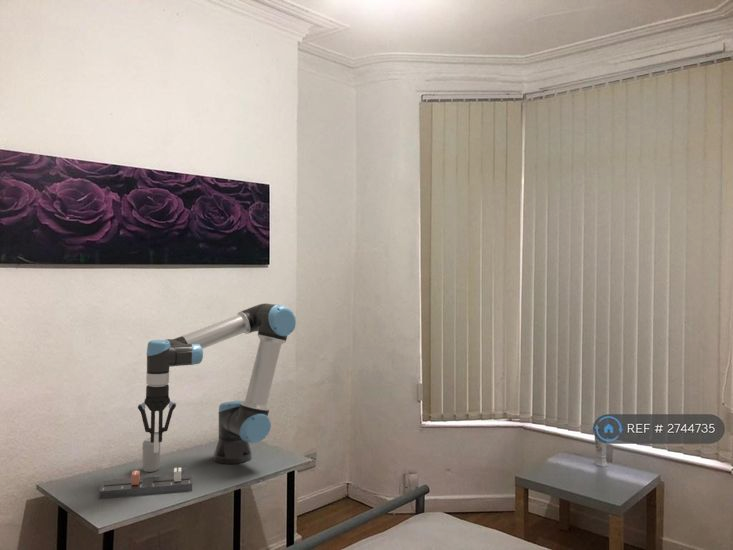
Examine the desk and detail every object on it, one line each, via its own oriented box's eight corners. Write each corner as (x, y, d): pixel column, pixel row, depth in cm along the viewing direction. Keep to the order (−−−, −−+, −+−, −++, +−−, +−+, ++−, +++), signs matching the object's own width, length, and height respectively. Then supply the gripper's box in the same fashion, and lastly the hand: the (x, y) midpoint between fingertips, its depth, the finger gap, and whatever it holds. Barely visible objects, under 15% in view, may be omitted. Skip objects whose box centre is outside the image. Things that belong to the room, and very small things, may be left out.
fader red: (139, 480, 213) (139, 470, 213) (138, 484, 209) (138, 474, 209) (132, 480, 212) (132, 470, 212) (131, 485, 208) (131, 474, 208)
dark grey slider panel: (192, 480, 220) (192, 473, 220) (192, 490, 211) (192, 483, 211) (103, 487, 212) (103, 480, 212) (99, 498, 203) (99, 491, 202)
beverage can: (154, 473, 227) (154, 441, 227) (139, 472, 228) (139, 440, 228) (163, 467, 233) (163, 437, 233) (148, 466, 234) (148, 435, 234)
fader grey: (181, 477, 217) (181, 467, 216) (181, 481, 213) (181, 470, 212) (174, 477, 216) (174, 467, 216) (173, 481, 212) (174, 471, 212)
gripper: (177, 381, 217) (175, 447, 217) (138, 382, 213) (137, 449, 214) (176, 386, 210) (175, 453, 210) (136, 387, 206) (135, 455, 206)
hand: (156, 451), depth 212 cm, fingers closed
